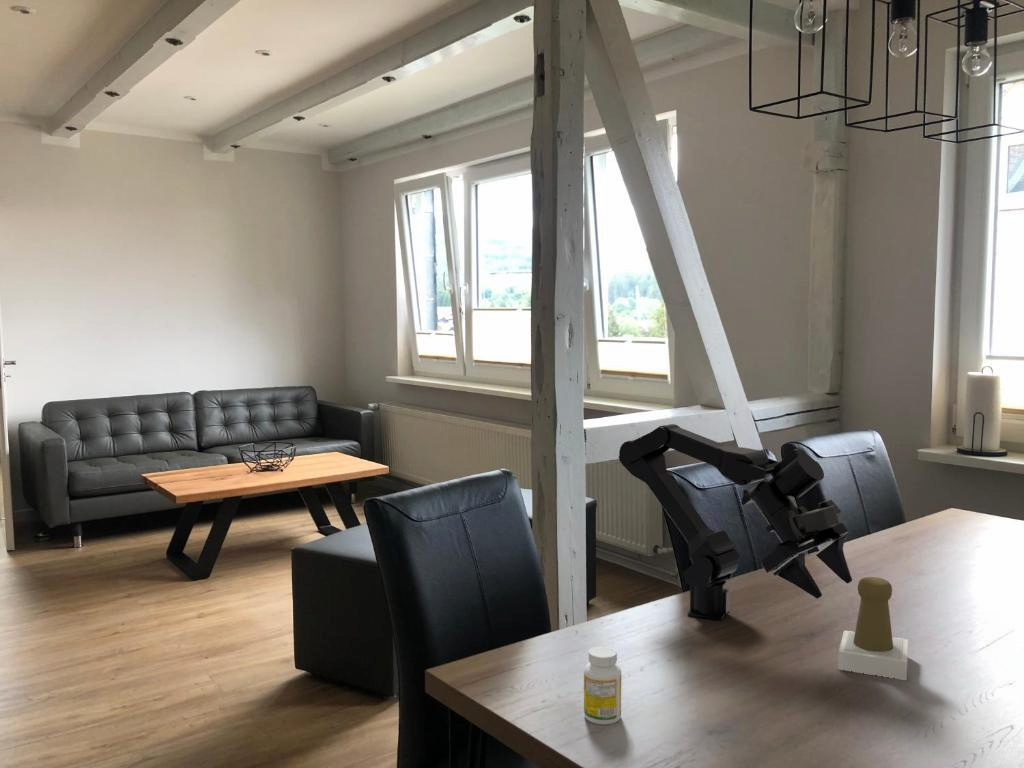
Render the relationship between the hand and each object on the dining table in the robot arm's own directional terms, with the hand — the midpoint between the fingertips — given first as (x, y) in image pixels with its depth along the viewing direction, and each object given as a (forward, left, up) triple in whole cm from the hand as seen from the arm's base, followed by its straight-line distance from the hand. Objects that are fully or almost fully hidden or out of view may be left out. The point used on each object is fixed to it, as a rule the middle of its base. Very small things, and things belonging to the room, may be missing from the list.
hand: (835, 589), depth 144 cm
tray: (+6, -3, -11) cm, 13 cm away
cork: (+6, -3, -8) cm, 10 cm away
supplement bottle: (-28, -39, -11) cm, 49 cm away
